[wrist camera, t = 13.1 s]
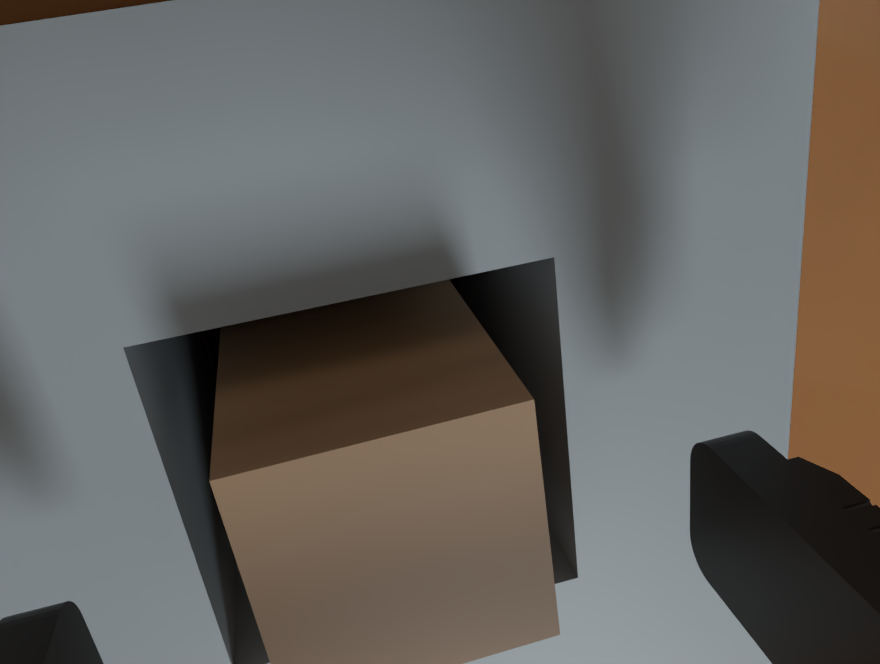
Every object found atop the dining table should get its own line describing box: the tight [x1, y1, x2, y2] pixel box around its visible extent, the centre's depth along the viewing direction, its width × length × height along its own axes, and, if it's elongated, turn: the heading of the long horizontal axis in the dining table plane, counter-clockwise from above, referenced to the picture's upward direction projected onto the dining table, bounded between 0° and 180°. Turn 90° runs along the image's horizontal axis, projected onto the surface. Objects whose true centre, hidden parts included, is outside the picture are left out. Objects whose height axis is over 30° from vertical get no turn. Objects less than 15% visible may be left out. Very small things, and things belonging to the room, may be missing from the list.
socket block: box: [0, 0, 819, 664], centre depth 15 cm, size 14×14×7 cm
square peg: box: [209, 279, 560, 664], centre depth 14 cm, size 4×4×9 cm
